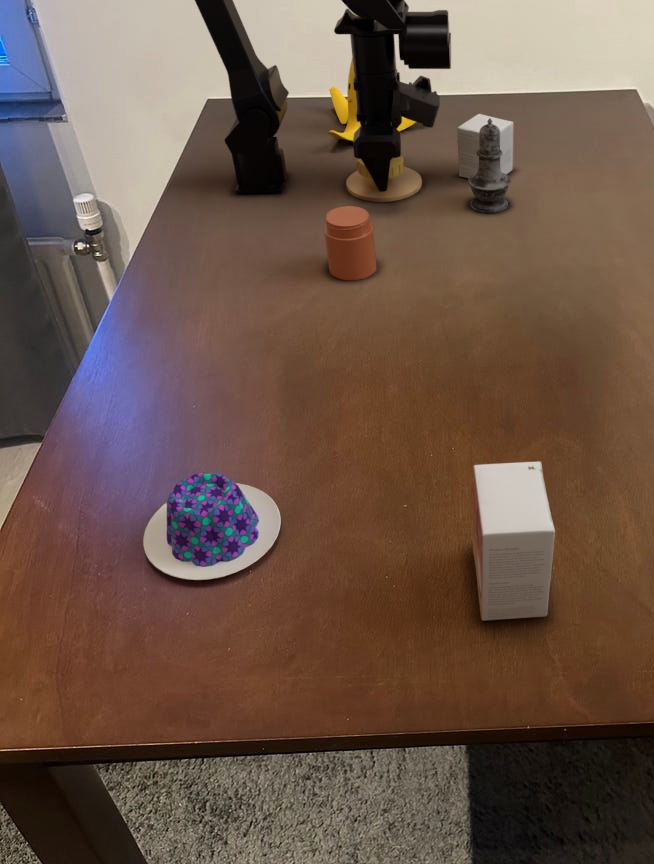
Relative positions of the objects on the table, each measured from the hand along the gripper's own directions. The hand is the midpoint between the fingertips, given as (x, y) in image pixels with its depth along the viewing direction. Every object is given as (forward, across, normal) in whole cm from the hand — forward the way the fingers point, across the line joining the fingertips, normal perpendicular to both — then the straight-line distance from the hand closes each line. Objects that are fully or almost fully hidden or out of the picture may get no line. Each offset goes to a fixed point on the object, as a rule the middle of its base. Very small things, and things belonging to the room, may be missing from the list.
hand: (383, 180), depth 130 cm
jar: (+1, -24, +3) cm, 24 cm away
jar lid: (-3, 0, 0) cm, 3 cm away
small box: (+1, -77, -13) cm, 78 cm away
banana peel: (+1, +21, +1) cm, 21 cm away
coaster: (+1, 0, 0) cm, 1 cm away
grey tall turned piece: (+1, -7, -15) cm, 17 cm away
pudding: (+1, -70, +13) cm, 71 cm away
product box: (+1, +3, -15) cm, 15 cm away
